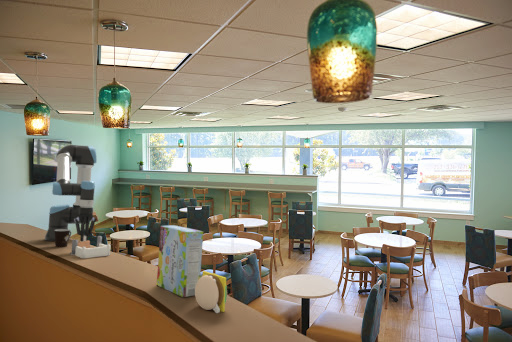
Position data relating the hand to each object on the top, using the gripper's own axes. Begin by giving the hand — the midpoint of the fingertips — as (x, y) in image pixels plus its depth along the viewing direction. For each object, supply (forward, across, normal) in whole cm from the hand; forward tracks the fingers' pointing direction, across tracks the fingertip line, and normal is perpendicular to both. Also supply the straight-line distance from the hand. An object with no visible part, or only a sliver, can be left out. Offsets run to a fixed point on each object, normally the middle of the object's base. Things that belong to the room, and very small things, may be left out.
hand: (83, 246), depth 219 cm
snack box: (+3, -1, -96) cm, 96 cm away
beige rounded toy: (+3, -4, -121) cm, 121 cm away
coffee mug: (+3, -4, +20) cm, 20 cm away
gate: (+1, -3, -5) cm, 6 cm away
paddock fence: (+2, -1, -12) cm, 13 cm away
